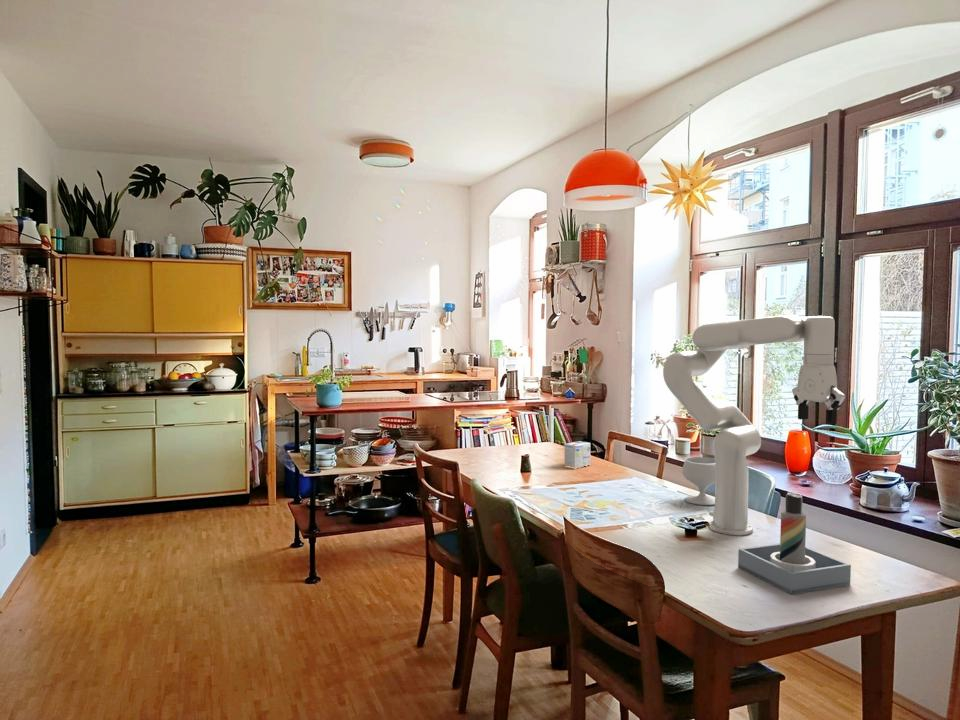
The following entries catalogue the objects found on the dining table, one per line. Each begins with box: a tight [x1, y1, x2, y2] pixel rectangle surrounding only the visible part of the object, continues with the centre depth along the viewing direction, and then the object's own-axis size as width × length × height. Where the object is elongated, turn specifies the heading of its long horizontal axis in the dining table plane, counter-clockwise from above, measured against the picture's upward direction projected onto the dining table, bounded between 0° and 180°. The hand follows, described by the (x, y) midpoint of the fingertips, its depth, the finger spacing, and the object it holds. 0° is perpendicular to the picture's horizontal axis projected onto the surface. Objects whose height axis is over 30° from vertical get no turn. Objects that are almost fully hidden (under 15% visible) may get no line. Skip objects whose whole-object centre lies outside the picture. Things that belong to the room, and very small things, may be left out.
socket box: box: [737, 543, 852, 596], centre depth 163 cm, size 18×18×5 cm
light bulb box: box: [563, 440, 591, 468], centre depth 290 cm, size 11×7×11 cm, turn 129°
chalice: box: [681, 456, 716, 506], centre depth 233 cm, size 14×14×15 cm
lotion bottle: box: [779, 492, 807, 565], centre depth 163 cm, size 6×6×20 cm
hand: (816, 421), depth 181 cm, fingers open, 9 cm apart
